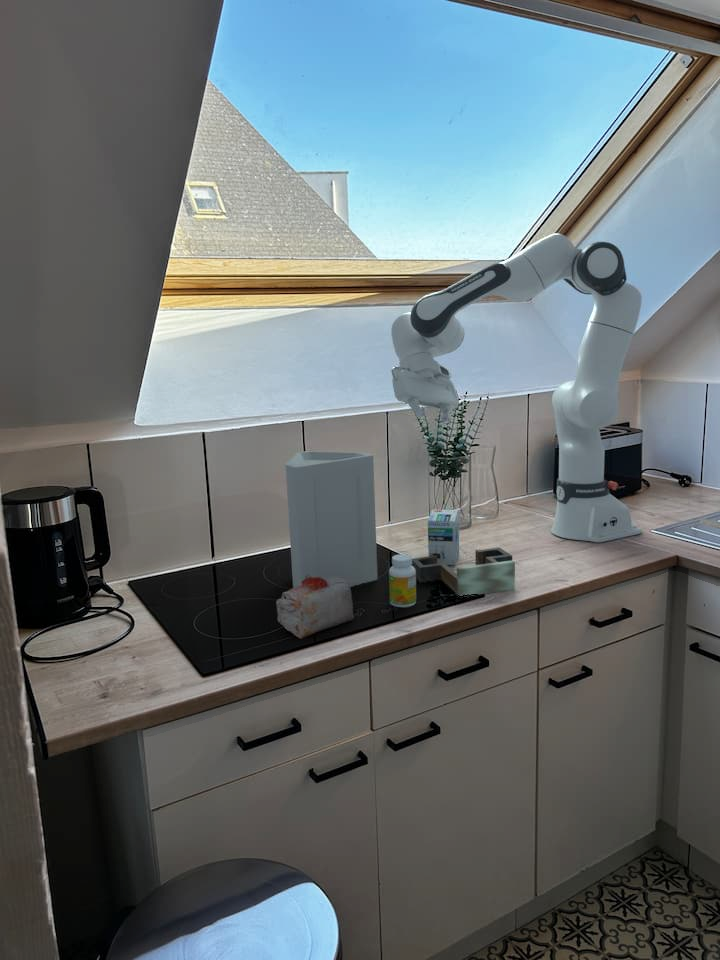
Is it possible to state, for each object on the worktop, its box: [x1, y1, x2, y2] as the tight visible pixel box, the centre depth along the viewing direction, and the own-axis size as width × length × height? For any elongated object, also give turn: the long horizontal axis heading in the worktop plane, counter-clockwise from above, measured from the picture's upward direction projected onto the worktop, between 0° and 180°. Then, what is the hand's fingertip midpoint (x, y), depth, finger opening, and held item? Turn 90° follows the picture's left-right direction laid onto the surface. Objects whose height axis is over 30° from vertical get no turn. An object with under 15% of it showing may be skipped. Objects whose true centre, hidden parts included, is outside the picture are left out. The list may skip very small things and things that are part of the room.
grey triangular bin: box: [285, 450, 379, 588], centre depth 158 cm, size 19×15×28 cm
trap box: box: [411, 547, 516, 597], centre depth 157 cm, size 22×17×6 cm
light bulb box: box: [427, 509, 460, 566], centre depth 172 cm, size 11×7×11 cm, turn 168°
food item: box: [275, 574, 355, 639], centre depth 136 cm, size 14×8×10 cm, turn 129°
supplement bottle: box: [388, 553, 417, 608], centre depth 145 cm, size 5×5×10 cm
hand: (434, 419), depth 178 cm, fingers open, 8 cm apart
